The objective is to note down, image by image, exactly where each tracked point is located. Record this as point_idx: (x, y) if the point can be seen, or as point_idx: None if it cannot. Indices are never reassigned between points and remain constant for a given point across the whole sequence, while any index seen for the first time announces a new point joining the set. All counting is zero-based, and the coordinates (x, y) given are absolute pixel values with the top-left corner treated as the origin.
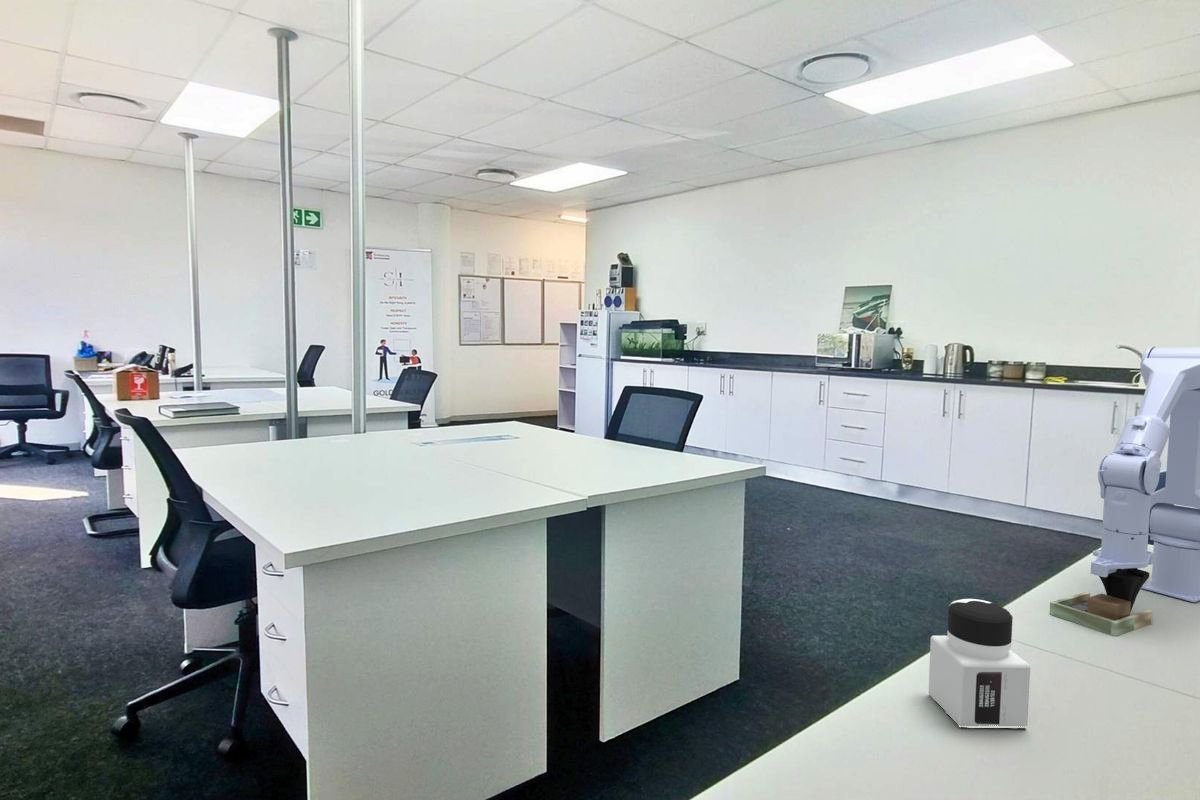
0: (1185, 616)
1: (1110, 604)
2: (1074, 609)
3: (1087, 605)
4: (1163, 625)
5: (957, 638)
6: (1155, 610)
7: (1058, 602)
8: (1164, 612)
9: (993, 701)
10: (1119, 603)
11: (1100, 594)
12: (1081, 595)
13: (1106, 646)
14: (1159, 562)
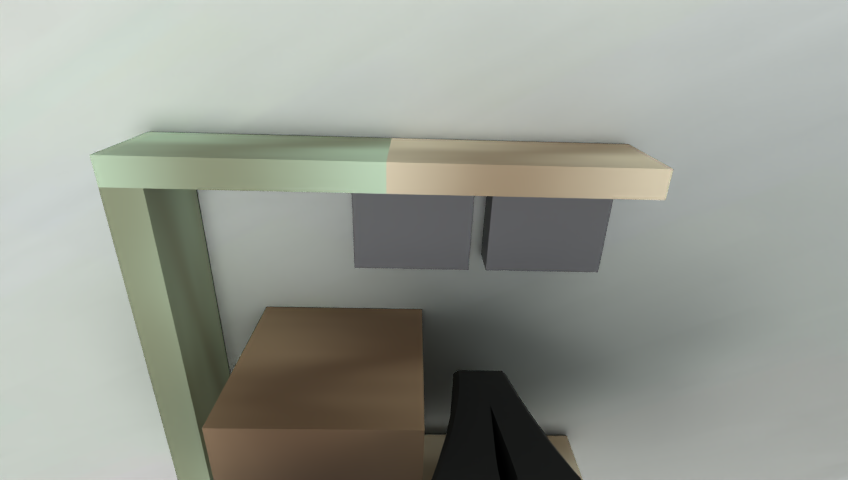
0: (822, 472)
1: None
2: (145, 321)
3: (489, 228)
4: (587, 475)
5: None
6: (821, 387)
7: (170, 187)
8: (818, 416)
9: None
10: None
11: (384, 436)
12: (529, 195)
13: (58, 474)
14: None
